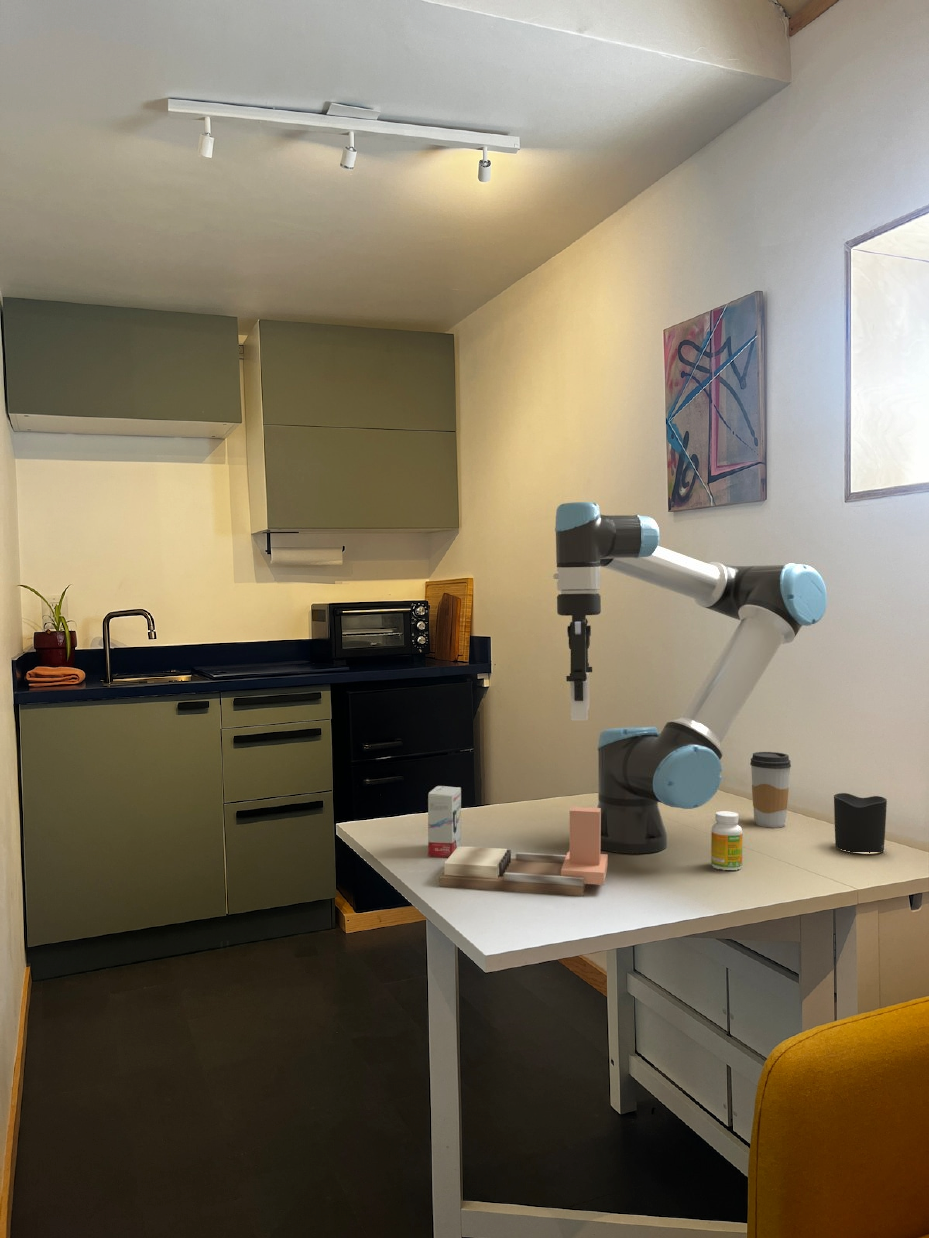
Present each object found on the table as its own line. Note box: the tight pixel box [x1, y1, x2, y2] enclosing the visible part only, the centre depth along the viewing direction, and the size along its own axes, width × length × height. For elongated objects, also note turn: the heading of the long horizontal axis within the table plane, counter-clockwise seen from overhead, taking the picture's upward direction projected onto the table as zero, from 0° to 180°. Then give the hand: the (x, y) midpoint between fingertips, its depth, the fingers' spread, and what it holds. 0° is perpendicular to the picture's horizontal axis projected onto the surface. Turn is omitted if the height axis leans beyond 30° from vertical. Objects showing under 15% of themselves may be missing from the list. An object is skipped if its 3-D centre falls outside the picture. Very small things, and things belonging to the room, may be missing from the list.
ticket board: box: [438, 845, 587, 897], centre depth 161 cm, size 24×14×4 cm, turn 78°
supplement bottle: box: [710, 810, 743, 871], centre depth 168 cm, size 5×5×10 cm
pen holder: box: [833, 792, 888, 853], centre depth 180 cm, size 9×9×10 cm
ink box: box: [427, 785, 462, 858], centre depth 178 cm, size 9×5×12 cm, turn 168°
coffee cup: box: [749, 751, 792, 829], centre depth 199 cm, size 8×8×15 cm
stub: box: [561, 806, 609, 886], centre depth 158 cm, size 7×11×11 cm, turn 168°
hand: (580, 714), depth 162 cm, fingers open, 13 cm apart
